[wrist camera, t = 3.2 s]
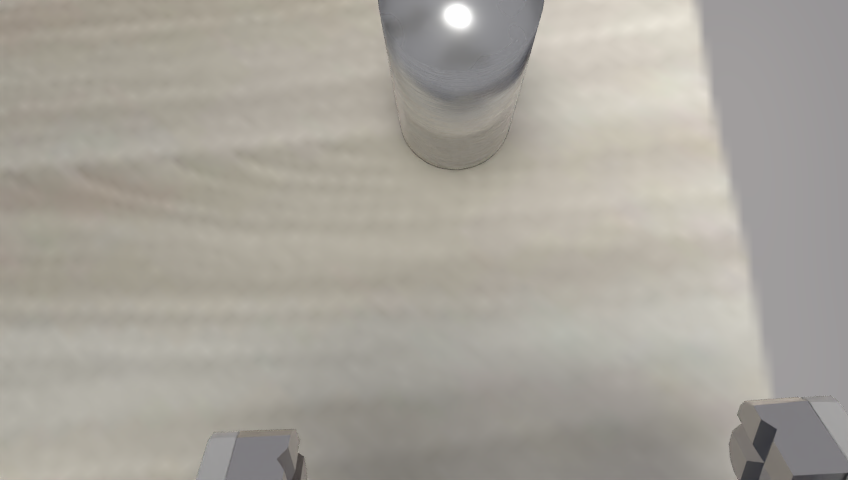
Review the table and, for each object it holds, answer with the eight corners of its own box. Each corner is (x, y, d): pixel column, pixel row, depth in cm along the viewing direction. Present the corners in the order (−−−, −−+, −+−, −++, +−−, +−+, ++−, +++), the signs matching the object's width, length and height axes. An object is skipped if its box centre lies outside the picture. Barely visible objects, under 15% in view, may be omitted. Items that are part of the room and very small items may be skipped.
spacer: (395, 166, 29) (371, 67, 19) (403, 61, 30) (384, -84, 20) (508, 172, 29) (541, 74, 19) (512, 66, 30) (546, -78, 20)
